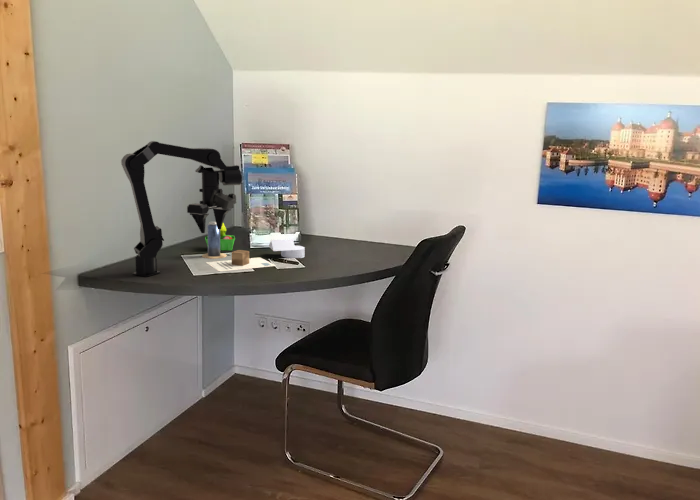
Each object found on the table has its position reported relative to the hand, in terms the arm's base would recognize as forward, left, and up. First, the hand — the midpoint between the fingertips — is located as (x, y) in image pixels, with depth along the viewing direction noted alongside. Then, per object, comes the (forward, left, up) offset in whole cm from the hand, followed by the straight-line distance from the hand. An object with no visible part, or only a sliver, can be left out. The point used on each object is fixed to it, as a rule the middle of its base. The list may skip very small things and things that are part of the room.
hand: (211, 231), depth 215 cm
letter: (+9, -6, -13) cm, 17 cm away
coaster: (+15, +10, -13) cm, 22 cm away
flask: (+15, +10, -12) cm, 22 cm away
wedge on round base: (+30, -13, -13) cm, 35 cm away
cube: (+9, -6, -13) cm, 17 cm away
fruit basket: (+27, +16, -13) cm, 34 cm away
